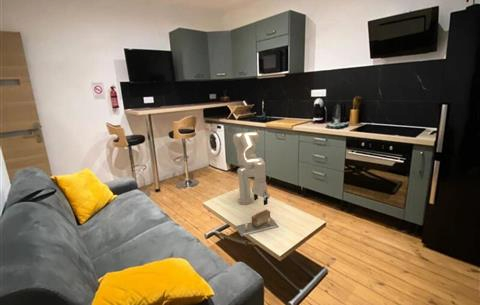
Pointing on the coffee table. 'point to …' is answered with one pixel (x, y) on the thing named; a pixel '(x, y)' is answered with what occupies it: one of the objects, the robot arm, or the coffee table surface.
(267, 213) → the wooden block
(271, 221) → the board
